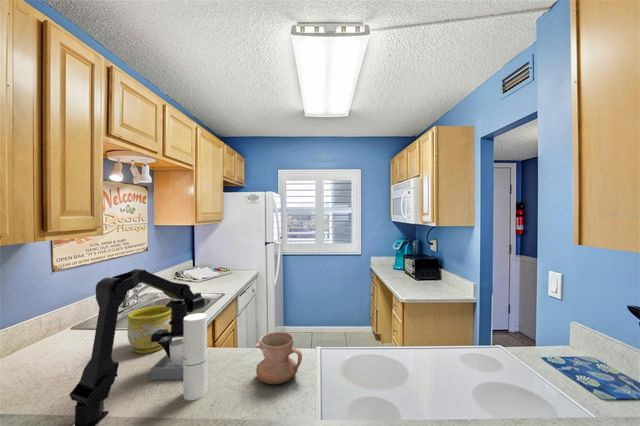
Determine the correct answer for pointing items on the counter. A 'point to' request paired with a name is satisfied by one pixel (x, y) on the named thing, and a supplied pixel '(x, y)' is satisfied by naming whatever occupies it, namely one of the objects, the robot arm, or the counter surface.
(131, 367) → the counter surface
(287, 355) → the ceramic jug
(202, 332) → the cylindrical container
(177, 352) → the short white cylinder
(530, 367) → the counter surface
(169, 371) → the tray
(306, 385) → the counter surface
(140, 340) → the flowerpot
